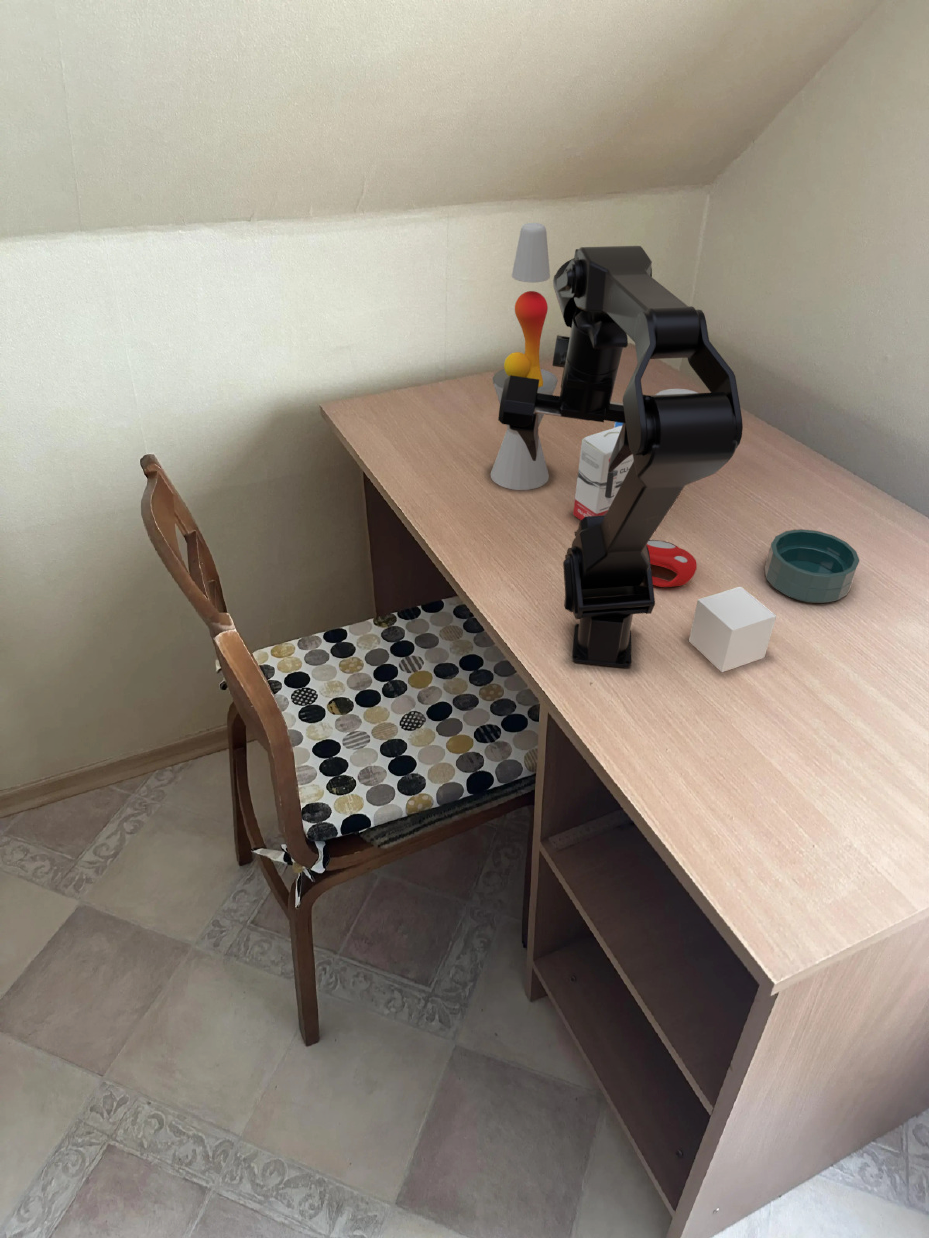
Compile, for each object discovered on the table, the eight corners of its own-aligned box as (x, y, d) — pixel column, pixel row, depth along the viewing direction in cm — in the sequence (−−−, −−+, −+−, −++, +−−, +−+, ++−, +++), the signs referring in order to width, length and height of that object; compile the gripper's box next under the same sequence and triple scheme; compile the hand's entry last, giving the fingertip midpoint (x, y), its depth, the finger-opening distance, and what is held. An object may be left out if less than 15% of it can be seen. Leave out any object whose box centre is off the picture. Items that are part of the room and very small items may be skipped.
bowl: (855, 610, 108) (866, 580, 105) (768, 602, 109) (777, 571, 106) (840, 562, 116) (850, 533, 113) (759, 555, 117) (767, 526, 114)
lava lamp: (526, 455, 137) (541, 212, 116) (562, 480, 131) (585, 229, 110) (477, 470, 133) (483, 221, 112) (512, 496, 127) (525, 239, 106)
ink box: (594, 531, 121) (604, 452, 113) (571, 515, 124) (579, 437, 116) (642, 513, 124) (654, 436, 117) (618, 498, 128) (629, 422, 120)
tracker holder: (662, 532, 118) (716, 553, 110) (657, 564, 120) (709, 587, 112) (589, 535, 113) (640, 558, 104) (584, 569, 114) (634, 594, 106)
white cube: (721, 672, 98) (732, 630, 95) (688, 641, 103) (697, 599, 99) (764, 657, 101) (776, 615, 97) (730, 627, 105) (740, 585, 101)
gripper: (681, 325, 100) (651, 431, 113) (516, 302, 101) (505, 409, 114) (679, 389, 94) (647, 493, 106) (503, 363, 95) (492, 470, 108)
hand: (572, 464), depth 109 cm, fingers open, 9 cm apart
